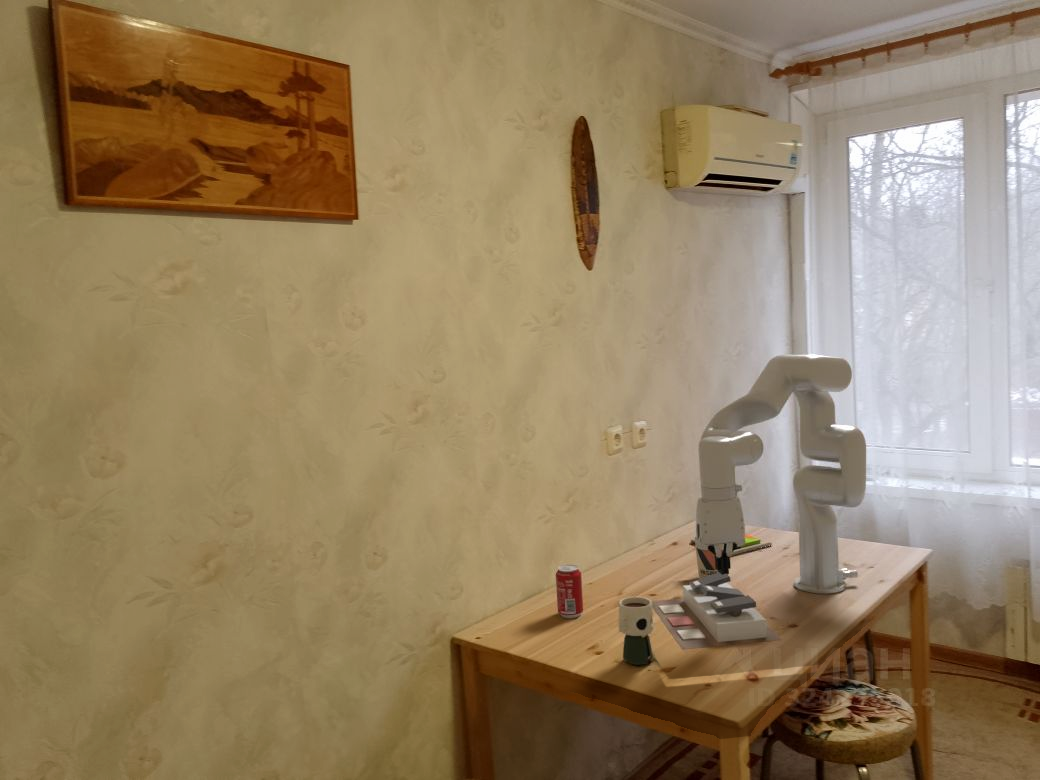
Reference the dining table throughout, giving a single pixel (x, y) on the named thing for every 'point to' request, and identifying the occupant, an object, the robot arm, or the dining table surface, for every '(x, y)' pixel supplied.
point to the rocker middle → (721, 592)
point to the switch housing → (725, 618)
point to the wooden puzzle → (747, 545)
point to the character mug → (636, 628)
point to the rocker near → (733, 605)
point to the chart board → (694, 626)
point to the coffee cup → (706, 561)
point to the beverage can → (569, 591)
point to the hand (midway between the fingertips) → (723, 572)
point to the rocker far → (709, 581)
